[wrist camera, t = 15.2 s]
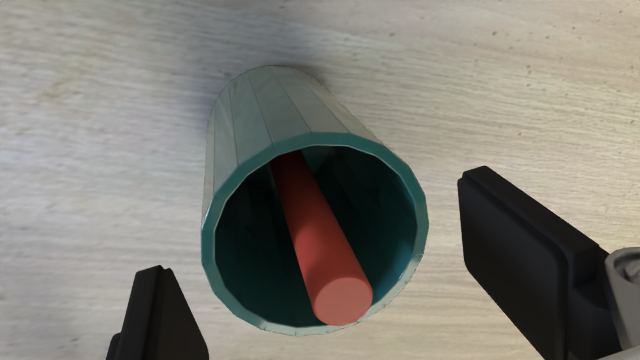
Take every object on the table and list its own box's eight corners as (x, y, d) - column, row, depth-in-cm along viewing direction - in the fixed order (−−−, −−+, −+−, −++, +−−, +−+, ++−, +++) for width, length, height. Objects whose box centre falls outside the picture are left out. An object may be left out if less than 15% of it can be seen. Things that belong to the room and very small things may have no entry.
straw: (258, 127, 24) (306, 286, 11) (288, 119, 24) (367, 266, 11) (266, 155, 24) (320, 334, 12) (295, 146, 24) (378, 316, 12)
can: (189, 85, 23) (164, 173, 12) (322, 49, 23) (413, 103, 13) (231, 205, 26) (241, 363, 15) (348, 170, 26) (439, 297, 16)
